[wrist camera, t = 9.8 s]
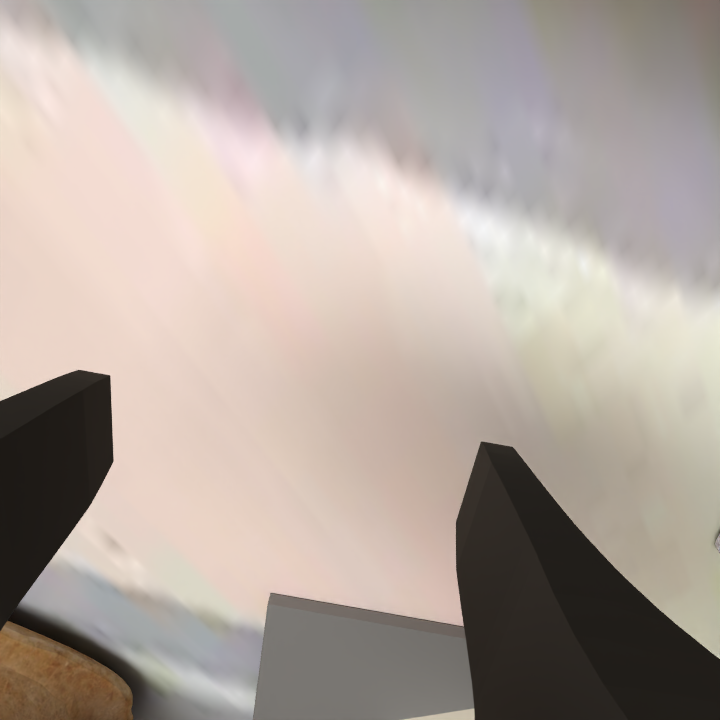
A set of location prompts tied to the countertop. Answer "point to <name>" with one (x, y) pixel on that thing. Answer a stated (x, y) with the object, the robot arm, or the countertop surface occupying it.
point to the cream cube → (449, 716)
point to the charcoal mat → (358, 664)
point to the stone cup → (56, 681)
